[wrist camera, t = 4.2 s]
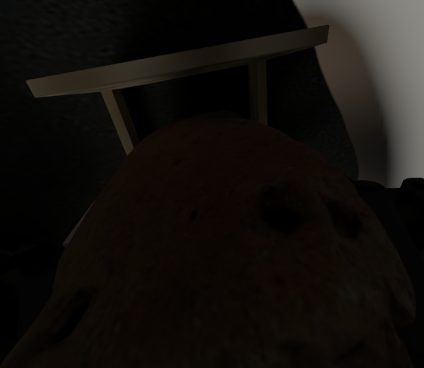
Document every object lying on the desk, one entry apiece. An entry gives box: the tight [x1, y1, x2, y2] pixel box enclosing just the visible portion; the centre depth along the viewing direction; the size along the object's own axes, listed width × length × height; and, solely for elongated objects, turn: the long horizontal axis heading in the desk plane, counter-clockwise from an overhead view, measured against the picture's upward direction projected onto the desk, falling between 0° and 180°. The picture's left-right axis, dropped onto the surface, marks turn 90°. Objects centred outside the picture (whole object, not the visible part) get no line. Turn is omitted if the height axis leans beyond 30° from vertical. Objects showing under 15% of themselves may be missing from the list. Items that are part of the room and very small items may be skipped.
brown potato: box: [0, 111, 416, 368], centre depth 12 cm, size 11×8×20 cm
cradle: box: [26, 25, 329, 155], centre depth 19 cm, size 16×16×12 cm
